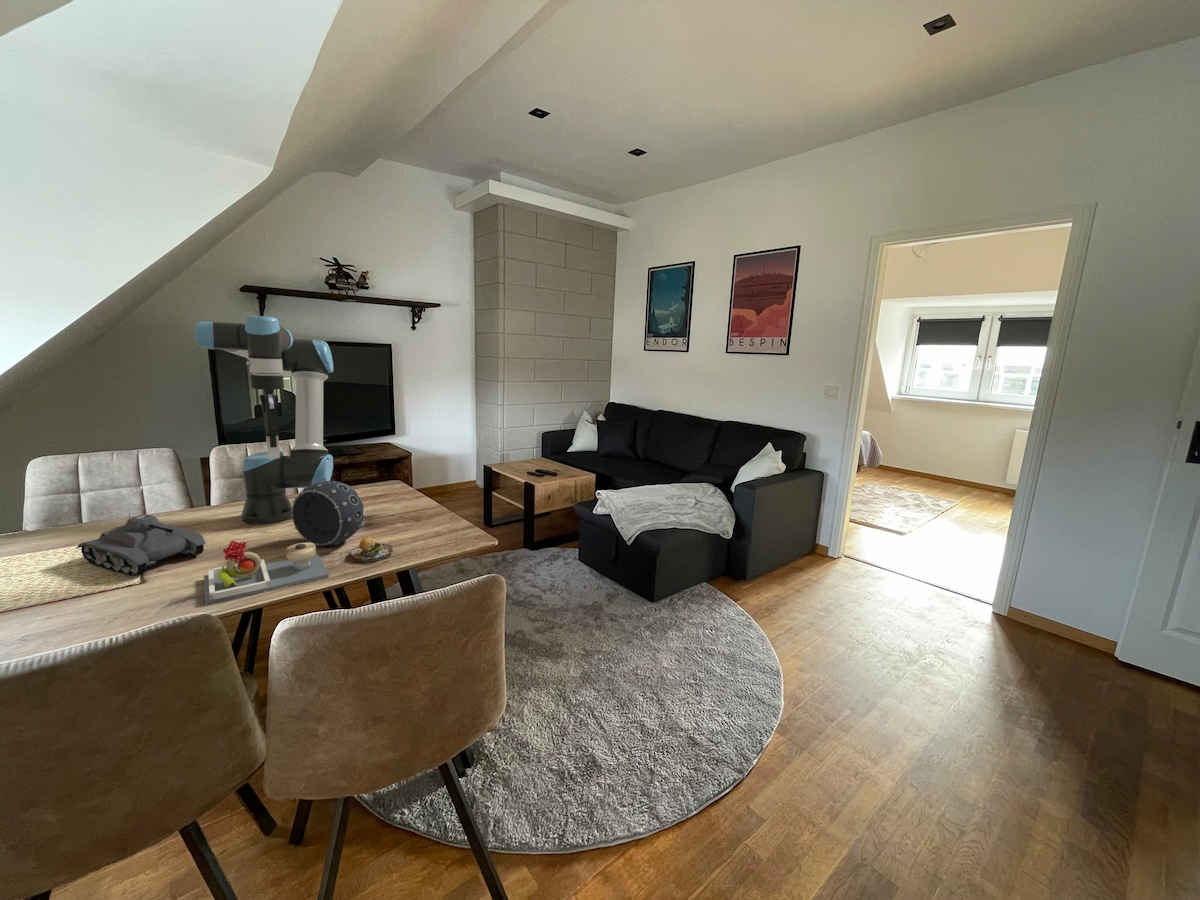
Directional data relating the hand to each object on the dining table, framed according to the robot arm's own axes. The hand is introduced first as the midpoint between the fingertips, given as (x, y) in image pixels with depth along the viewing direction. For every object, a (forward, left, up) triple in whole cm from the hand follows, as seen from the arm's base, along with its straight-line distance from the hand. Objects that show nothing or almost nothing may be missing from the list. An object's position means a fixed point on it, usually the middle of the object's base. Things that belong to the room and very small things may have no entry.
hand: (274, 457), depth 136 cm
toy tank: (-16, -30, -30) cm, 46 cm away
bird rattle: (+15, -11, -29) cm, 34 cm away
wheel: (+15, +3, -25) cm, 29 cm away
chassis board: (+15, -5, -29) cm, 33 cm away
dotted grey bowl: (-2, +13, -30) cm, 32 cm away
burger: (+14, +21, -30) cm, 39 cm away
